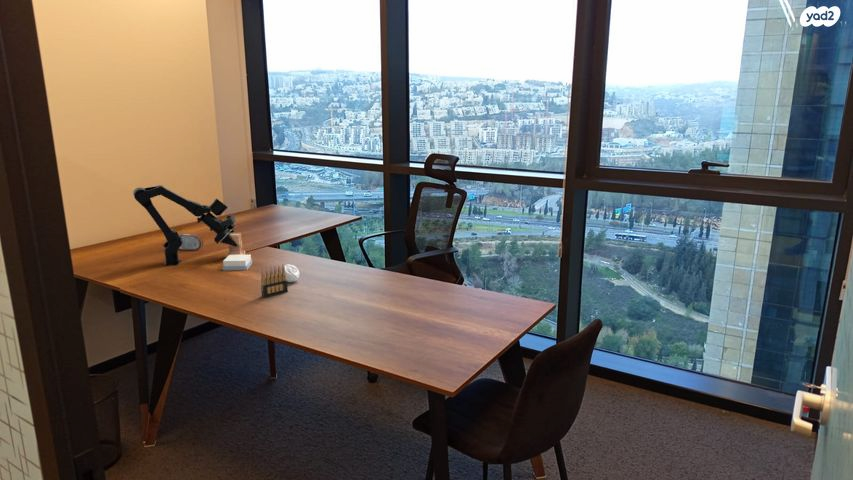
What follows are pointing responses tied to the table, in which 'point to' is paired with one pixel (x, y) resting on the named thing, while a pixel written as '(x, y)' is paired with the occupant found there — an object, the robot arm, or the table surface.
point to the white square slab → (237, 260)
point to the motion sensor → (291, 273)
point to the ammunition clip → (273, 282)
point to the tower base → (237, 267)
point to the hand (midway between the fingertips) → (238, 244)
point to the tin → (190, 241)
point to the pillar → (238, 240)
